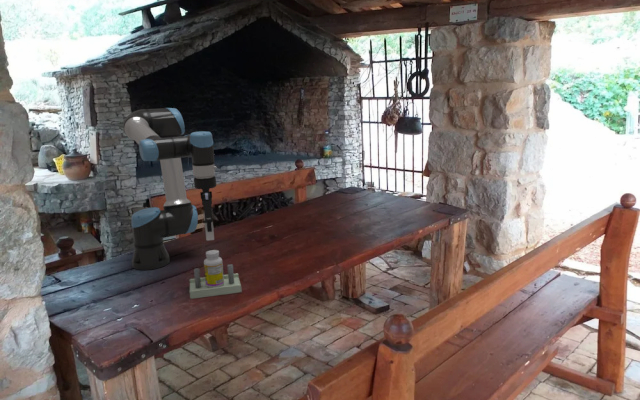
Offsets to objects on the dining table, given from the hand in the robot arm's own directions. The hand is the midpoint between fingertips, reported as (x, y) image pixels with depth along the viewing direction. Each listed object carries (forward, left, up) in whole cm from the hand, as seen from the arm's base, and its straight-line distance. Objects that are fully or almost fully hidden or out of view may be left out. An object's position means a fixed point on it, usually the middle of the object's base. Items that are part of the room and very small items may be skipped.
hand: (209, 234), depth 179 cm
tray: (0, -1, -21) cm, 21 cm away
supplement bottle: (0, -1, -19) cm, 19 cm away
